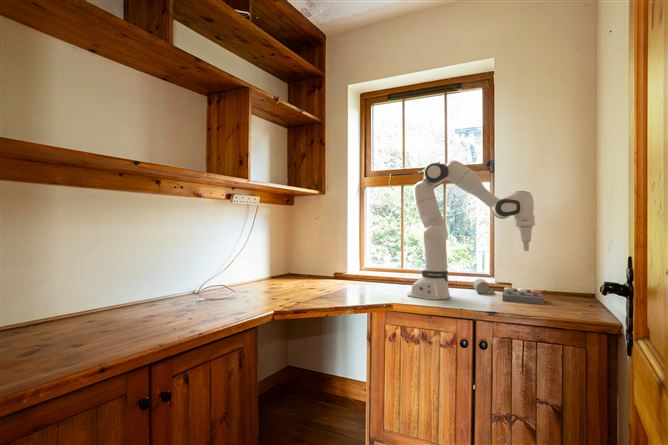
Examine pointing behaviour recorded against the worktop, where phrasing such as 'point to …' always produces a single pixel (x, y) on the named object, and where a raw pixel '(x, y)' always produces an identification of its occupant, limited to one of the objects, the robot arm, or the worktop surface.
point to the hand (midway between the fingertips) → (526, 250)
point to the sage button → (509, 290)
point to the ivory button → (521, 291)
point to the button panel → (523, 298)
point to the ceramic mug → (482, 287)
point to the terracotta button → (535, 292)
